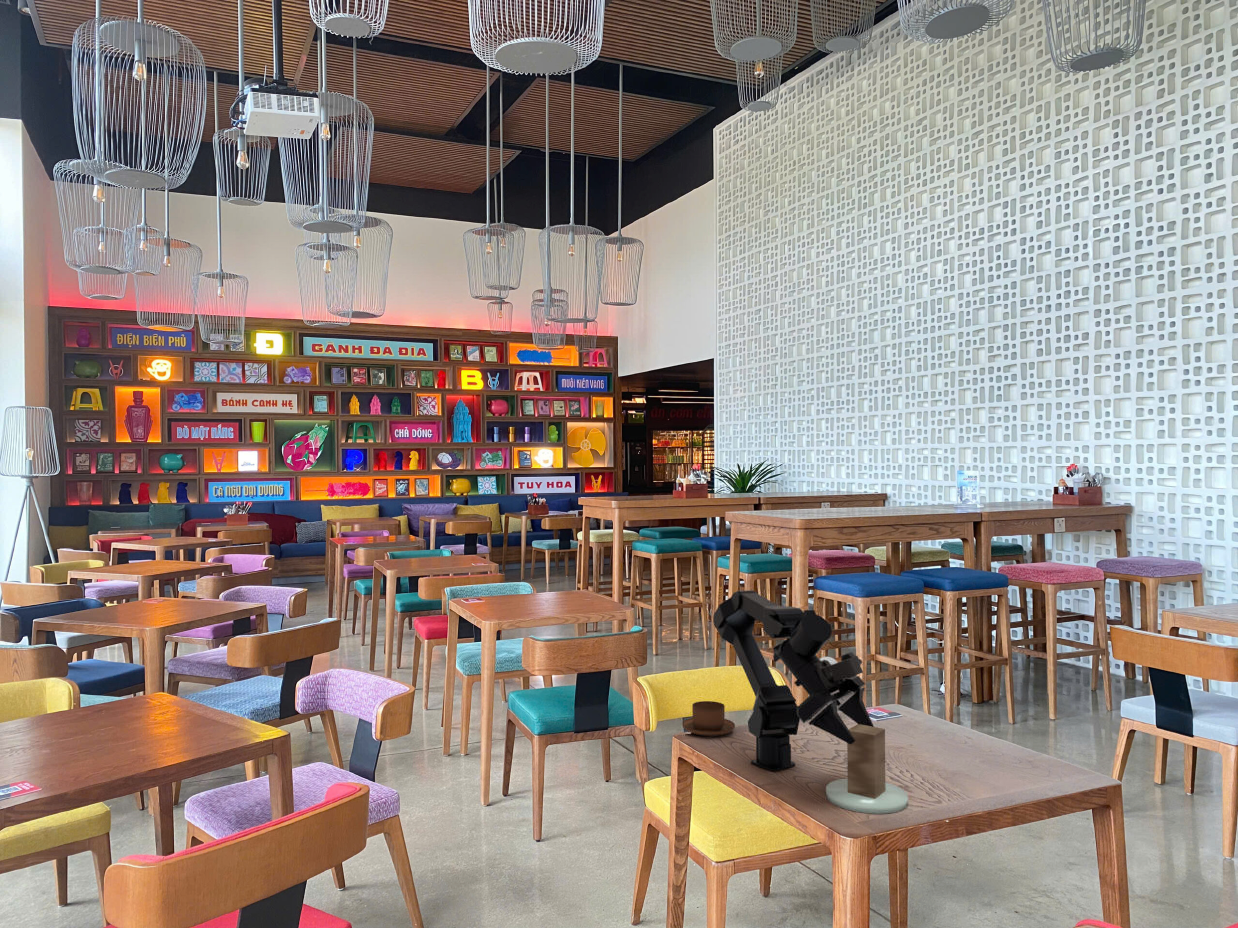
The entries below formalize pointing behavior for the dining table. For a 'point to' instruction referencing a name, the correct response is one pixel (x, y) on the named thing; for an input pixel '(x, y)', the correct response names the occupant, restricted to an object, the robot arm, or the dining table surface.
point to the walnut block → (866, 761)
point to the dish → (867, 799)
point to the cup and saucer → (708, 719)
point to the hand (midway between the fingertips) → (863, 736)
